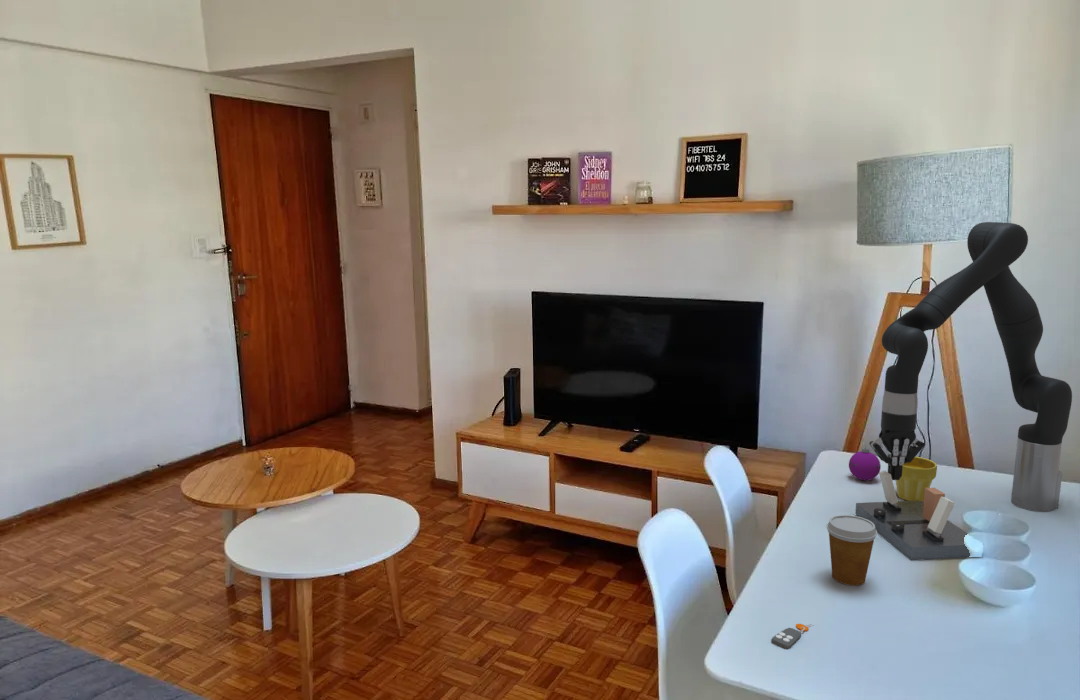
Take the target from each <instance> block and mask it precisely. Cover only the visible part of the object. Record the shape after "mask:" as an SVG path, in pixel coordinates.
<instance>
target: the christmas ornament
mask: <svg viewBox="0 0 1080 700" xmlns="http://www.w3.org/2000/svg"><path fill="white" fill-rule="evenodd" d="M880 461H881V460H880V458H879V457H878V456H877V455H875V454H874V453H873V452H870V448H868V447H867V446H865V447H862V449H861V450H860V451H857V452H855V453H854V454H852V456H851V457H850V458H849V460H848V469H849V471H850V473H851V474H852V476H853V477H855V478H856V479H858V480H860V481H872V480H873V479H875V478H876V477H877V476H878V475H880V474H879V472H881V466H882V465H881V462H880Z"/></svg>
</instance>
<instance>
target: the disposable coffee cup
mask: <svg viewBox="0 0 1080 700" xmlns="http://www.w3.org/2000/svg"><path fill="white" fill-rule="evenodd" d="M826 529H827V532H828V538H829V539H828V542H829V551H830V552H829V553H830V562H831V563H830V565H831V566H830V567H831V576H832V579H834V581H836V582H838V583H840V584H843V585H847V586H861V585H863V584H865V582H866V579H867V575H868V568H869V565H870V559H871V555H872V551H873V546H874V541H875V539H876V537H877V535H878V533H877V531H876V529H875V525H874V523H872V522H871V521H869V520H867V519H865V518H862V517H858V516H857V515H851V514H838V515H833V516H832V517H830V518H829V521H828V522H827V523H826Z"/></svg>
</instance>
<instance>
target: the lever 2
mask: <svg viewBox="0 0 1080 700" xmlns="http://www.w3.org/2000/svg"><path fill="white" fill-rule="evenodd" d="M954 506H955V502H954V501H952V500H951V499H949V498H948V497H946V496H945V497H942V496H941V498H940V500H939V502H938V505H937V507H936V509H935V511H934V513H933V516H932V518H931V520H930V522H929V525H928V527H927V531H929V532H930V533H932V534H933V535H934V536H936V537H937V538H939V537H940V535H939V534H941V533H942V531H943V528H944V526H945V524H946V522H947V520H948V519H949V517H950V515H951V513H952V511H953V509H954ZM948 521H949V520H948ZM938 533H939V534H938Z"/></svg>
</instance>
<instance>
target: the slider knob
mask: <svg viewBox="0 0 1080 700" xmlns="http://www.w3.org/2000/svg"><path fill="white" fill-rule="evenodd" d="M941 496H942V497H945V498H946V493H945V492H943V491H941V490H939V489H938V488H936V487H930V488H925V492H924V501H923V516H922V517H924V518H925V519H927V520H928V521H929V522H930V520H931V518H932V516H933V513H934V511H935V509H936V507H937V505H938V502H939V500H940V498H941Z"/></svg>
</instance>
